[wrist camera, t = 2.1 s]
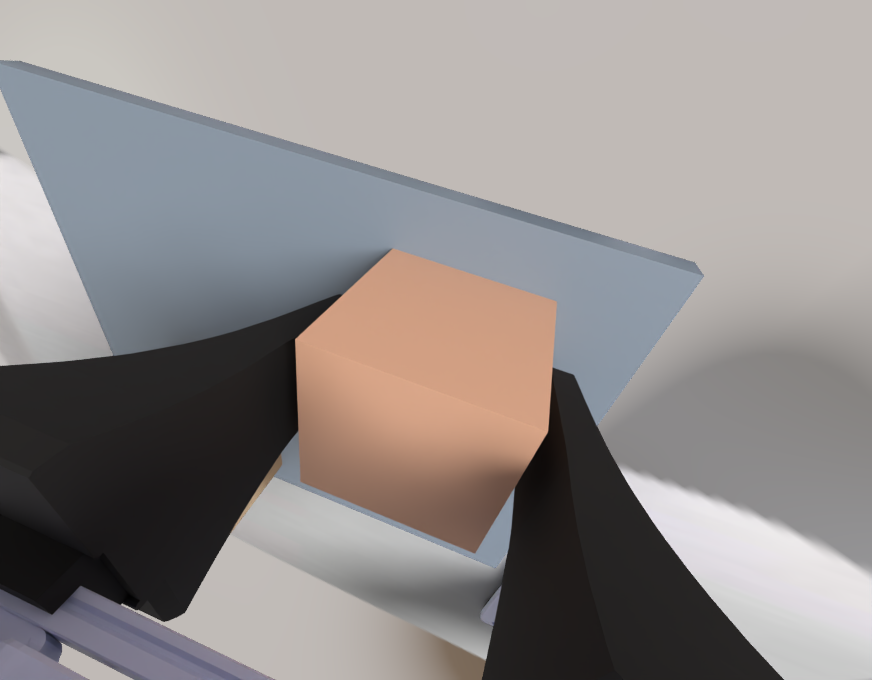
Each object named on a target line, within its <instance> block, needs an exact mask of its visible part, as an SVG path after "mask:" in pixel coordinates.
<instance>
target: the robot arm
mask: <svg viewBox="0 0 872 680" xmlns="http://www.w3.org/2000/svg"><path fill="white" fill-rule="evenodd" d="M341 296H342V295H341V294H338V295H335V296H332V297H329V298H326V299H324V300H321V301H318V302H316V303H313V304H311V305H308V306H305V307H303V308H300V309H298V310H295V311H292V312H290V313H287V314H284V315H282V316H279V317H276V318H273V319H270V320H267V321H264V322H261V323H258V324H255V325H252V326H249V327H246V328H243V329H240V330H237V331H233V332H230V333H226V334H223V335H219V336H215V337H211V338H207V339H203V340H199V341H194V342H190V343H186V344H181V345H175V346H170V347H164V348H159V349H153V350H148V351H142V352H137V353H131V354H124V355H116V356H109V357H101V358H92V359H83V360H75V361H64V362H53V363H38V364H23V365H9V366H0V680H89V679H87V678H85V677H83V676H81V675H79V674H78V673H76V672H74V671H72V670H70V669H68V668H66V667H65V666H63V665H61V664H59V663H58V662H59V658H60V656H61V653H62V644H61V643H64V644H65V645H67V646H69V647H71V648H73V649H75V650H77V651H79V652H81V653H83V654H85V655H87V656H89V657H91V658H93V659H95V660H97V661H99V662H101V663H103V664H105V665H107V666H109V667H111V668H113V669H115V670H116V671H118V672H120V673H122V674H124V675H126V676H128V677H130V678H132V679H134V680H275V679H272V678H270V677H268V676H266V675H264V674H262V673H260V672H258V671H256V670H254V669H251V668H250V667H247V666H246V665H243V664H241V663H239V662H237V661H235V660H233V659H231V658H229V657H227V656H225V655H223V654H220V653H218V652H217V651H215V650H212V649H210V648H208V647H206V646H204V645H202V644H200V643H198V642H196V641H194V640H192V639H190V638H187V637H186V636H183V635H181V634H179V633H177V632H175V631H173V630H171V629H169V628H167V627H165V626H163V625H161V624H159V623H157V622H154V621H153V620H150V619H148V618H146V617H144V616H142V615H140V614H138V613H136V612H134V611H132V610H130V609H128V608H125V607H123V606H121V604H122V603H123V604H125V605H127V606H129V607H131V608H133V609H135V610H140V611H142V612H144V613H146V614H148V615H151V616H153V617H155V618H157V619H159V620H161V621H163V622H165V621H169V620H171V619H174V618H176V617H178V616H180V615H182V614H183V613H185V611H186V610H187V608H188V606H189V604H190V603H191V601H192V599H193V597H194V595H195V594H196V592H197V590H198V588H199V586H200V585H201V582H202V581H203V579H204V578H205V576H206V574H207V572H208V571H209V569H210V567H211V565H212V563H213V562H214V560H215V558H216V556H217V555H218V553H219V551H220V550H221V548H222V546H223V545H224V543H225V541H226V539H227V538H228V536H229V534H230V533H231V531H232V529H233V528H234V526H235V524H236V523H237V521H238V519H239V518H240V516H241V514H242V513H243V511H244V510H245V508H246V507H247V505H248V503H249V502H250V500H251V499H252V497H253V495H254V494H255V492H256V491H257V489H258V488H259V486H260V484H261V483H262V481H263V480H264V478H265V477H266V475H267V474H268V472H269V471H270V469H271V468H272V466H273V465H274V463H275V462H276V460H277V459H278V457H279V456H280V454H281V453H282V451H283V450H284V449H285V447H286V446H287V445H288V443H289V442H290V441H291V439H292V438H293V437H294V436H295V434H296V433H297V432H298V431H299V429H298V402H297V374H296V347H295V339H296V338H297V337H298V336H299V335H300V334H302V333H303V332H304V331H305V330H306V329H307V328H308V327H309V326H310V325H311V324H312V323H313V322H314V321H316V320H317V319H318V318H319V317H320V316H321V315H322V314H323V313H324V312H325V311H326V310H327V309H328V308H329V307H331V306H332V305H333V304H334V303H335V302H336V301H337V300H338V299H339V298H340V297H341ZM480 619H481V620H482V621H483V622H485V623H487V624H489V625H491V626H493V631H492V635H491V640H490V645H489V649H488V654H487V659H486V663H485V668H484V672H483V677H482V680H784V679H783V678H782V677H781V676H780V675H779V674H778V673H777V672H776V671H775V670H774V669H773V667H772V666H771V665H770V664H769V663H768V662H767V661H766V660H765V659H764V658H763V657H762V656H761V655H760V654H759V652H758V651H757V650H756V649H755V648H754V647H753V646H752V645H751V644H750V643H749V642H748V640H747V639H746V638H745V637H744V636H743V635H742V634H741V632H740V631H739V630H738V629H737V628H736V627H735V625H734V624H733V623H732V622H731V621H730V620H729V618H728V617H727V616H726V615H725V614H724V613H723V611H722V610H721V609H720V608H719V607H718V606H717V604H716V603H715V602H714V601H713V600H712V599H711V597H710V596H709V595H708V594H707V592H706V591H705V590H704V589H703V588H702V586H701V585H700V584H699V583H698V581H697V580H696V579H695V578H694V576H693V575H692V574H691V573H690V571H689V570H688V569H687V568H686V566H685V565H684V564H683V562H682V561H681V560H680V558H679V557H678V556H677V554H676V553H675V552H674V550H673V549H672V548H671V546H670V545H669V544H668V542H667V541H666V540H665V538H664V537H663V536H662V534H661V533H660V531H659V530H658V529H657V527H656V526H655V524H654V523H653V522H652V520H651V519H650V517H649V516H648V514H647V513H646V511H645V510H644V508H643V506H642V505H641V503H640V502H639V500H638V499H637V497H636V496H635V494H634V493H633V491H632V490H631V488H630V486H629V485H628V483H627V481H626V480H625V478H624V476H623V475H622V473H621V471H620V469H619V467H618V466H617V464H616V462H615V461H614V459H613V457H612V455H611V453H610V452H609V450H608V447H607V446H606V444H605V442H604V439H603V437H602V435H601V433H600V431H599V429H598V427H597V425H596V423H595V421H594V419H593V417H592V414H591V412H590V410H589V408H588V405H587V403H586V401H585V399H584V396H583V394H582V392H581V389H580V387H579V385H578V382H577V380H576V378H575V376H574V375H573V374H570V373H568V372H565V371H562V370H559V369H556V368H552V382H551V397H550V412H549V426H548V433H547V434H546V436H545V438H544V439H543V441H542V443H541V444H540V446H539V448H538V449H537V451H536V453H535V454H534V456H533V458H532V459H531V461H530V463H529V464H528V466H527V468H526V470H525V471H524V473H523V475H522V476H521V478H520V480H519V481H518V483H517V485H516V486H515V490H514V502H513V514H512V526H511V534H510V542H509V549H508V554H507V559H506V565H505V570H504V575H503V581H502V585H501V586H500V587H499V589H498V590H497V591H496V592H495V594H494V595H493V596H492V598H491V599H490V600H489V601H488V603H487V604H486V605H485V606H484V608H483V609H482V610H481V615H480ZM60 642H61V643H60Z"/></svg>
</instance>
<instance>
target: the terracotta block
mask: <svg viewBox="0 0 872 680" xmlns="http://www.w3.org/2000/svg"><path fill="white" fill-rule="evenodd" d="M556 309H557V301H554V300H551V299H548V298H545V297H542V296H539V295H535V294H532V293H529V292H526V291H523V290H520V289H517V288H514V287H511V286H508V285H505V284H501V283H498V282H495V281H492V280H489V279H486V278H483V277H480V276H477V275H474V274H471V273H467V272H464V271H461V270H458V269H455V268H452V267H449V266H446V265H443V264H440V263H437V262H433V261H430V260H427V259H424V258H421V257H418V256H415V255H412V254H409V253H406V252H403V251H399V250H396V249H392V250H391V251H390V252H389V253H387V254H386V255H385V256H384V257H383V258H382V259H381V260H380V261H379V262H378V263H377V264H376V265H375V266H373V267H372V268H371V269H370V270H369V271H368V272H367V273H366V274H365V275H364V276H363V277H362V278H361V279H360V280H358V281H357V282H356V283H355V284H354V285H353V286H352V287H351V288H350V289H349V290H348V291H347V292H346V293H344V294H343V295H342V296H341V297H340V298H339V299H338V300H337V301H336V302H335V303H334V304H333V305H332V306H331V307H329V308H328V309H327V310H326V311H325V312H324V313H323V314H322V315H321V316H320V317H319V318H318V319H317V320H316V321H314V322H313V323H312V324H311V325H310V326H309V327H308V328H307V329H306V330H305V331H304V332H303V333H302V334H300V335H299V336H298V337H297V338H296V339H295V347H296V374H297V402H298V429H299V457H300V482H302V483H304V484H307V485H309V486H312V487H314V488H317V489H319V490H321V491H324V492H326V493H329V494H331V495H333V496H336V497H338V498H341V499H343V500H346V501H348V502H350V503H353V504H355V505H358V506H360V507H363V508H365V509H367V510H370V511H372V512H375V513H377V514H380V515H382V516H384V517H387V518H389V519H392V520H394V521H396V522H399V523H401V524H404V525H406V526H409V527H411V528H413V529H416V530H418V531H421V532H423V533H426V534H428V535H430V536H433V537H435V538H438V539H440V540H443V541H445V542H447V543H450V544H452V545H455V546H457V547H460V548H462V549H464V550H467V551H469V552H472V553H474V554H475V553H476V551H477V550H478V548H479V546H480V545H481V543H482V541H483V540H484V538H485V536H486V535H487V533H488V531H489V530H490V528H491V526H492V525H493V523H494V521H495V520H496V518H497V516H498V515H499V513H500V511H501V510H502V508H503V506H504V505H505V503H506V501H507V500H508V498H509V496H510V495H511V493H512V491H513V490H514V488H515V486H516V485H517V483H518V481H519V480H520V478H521V476H522V475H523V473H524V471H525V470H526V468H527V466H528V464H529V463H530V461H531V459H532V458H533V456H534V454H535V453H536V451H537V449H538V448H539V446H540V444H541V443H542V441H543V439H544V438H545V436H546V434H547V433H548V426H549V412H550V397H551V382H552V368H553V353H554V338H555V324H556Z"/></svg>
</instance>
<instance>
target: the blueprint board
mask: <svg viewBox="0 0 872 680" xmlns="http://www.w3.org/2000/svg"><path fill="white" fill-rule="evenodd" d="M0 89H1V92H2V94H3V96H4V99H5V101H6V103H7V106H8V108H9V111H10V113H11V115H12V118H13V120H14V122H15V125H16V127H17V129H18V132H19V134H20V137H21V139H22V141H23V144H24V146H25V148H26V151H27V153H28V155H29V158H30V160H31V162H32V165H33V167H34V169H35V172H36V174H37V177H38V179H39V181H40V184H41V186H42V188H43V191H44V193H45V195H46V198H47V200H48V202H49V205H50V207H51V210H52V212H53V214H54V217H55V219H56V221H57V224H58V226H59V228H60V231H61V233H62V235H63V238H64V240H65V242H66V245H67V247H68V250H69V252H70V254H71V257H72V259H73V261H74V264H75V266H76V268H77V271H78V273H79V275H80V278H81V280H82V282H83V285H84V287H85V290H86V292H87V294H88V297H89V299H90V301H91V304H92V306H93V308H94V311H95V313H96V315H97V318H98V320H99V322H100V325H101V327H102V330H103V332H104V334H105V337H106V339H107V341H108V344H109V346H110V348H111V351H112V353H113V355H114V356H116V355H124V354H131V353H137V352H142V351H148V350H153V349H159V348H164V347H170V346H175V345H181V344H186V343H190V342H194V341H199V340H203V339H207V338H211V337H215V336H219V335H223V334H226V333H230V332H233V331H237V330H240V329H243V328H246V327H249V326H252V325H255V324H258V323H261V322H264V321H267V320H270V319H273V318H276V317H279V316H282V315H284V314H287V313H290V312H292V311H295V310H298V309H300V308H303V307H305V306H308V305H311V304H313V303H316V302H318V301H321V300H324V299H326V298H329V297H332V296H335V295H338V294H341V295H343V294H344V293H346V292H347V291H348V290H349V289H350V288H351V287H352V286H353V285H354V284H355V283H356V282H357V281H358V280H360V279H361V278H362V277H363V276H364V275H365V274H366V273H367V272H368V271H369V270H370V269H371V268H372V267H373V266H375V265H376V264H377V263H378V262H379V261H380V260H381V259H382V258H383V257H384V256H385V255H386V254H387V253H389V252H390V251H391V250H392V249H396V250H399V251H403V252H406V253H409V254H412V255H415V256H418V257H421V258H424V259H427V260H430V261H433V262H437V263H440V264H443V265H446V266H449V267H452V268H455V269H458V270H461V271H464V272H467V273H471V274H474V275H477V276H480V277H483V278H486V279H489V280H492V281H495V282H498V283H501V284H505V285H508V286H511V287H514V288H517V289H520V290H523V291H526V292H529V293H532V294H535V295H539V296H542V297H545V298H548V299H551V300H554V301H557V309H556V324H555V338H554V353H553V368H556V369H559V370H562V371H565V372H568V373H570V374H573V375H574V376H575V378H576V380H577V382H578V385H579V387H580V389H581V392H582V394H583V396H584V399H585V401H586V403H587V405H588V408H589V410H590V412H591V414H592V417H593V419H594V421H595V423H596V425H597V426H598V424H599V423H600V421H601V420H602V418H603V417H604V416H605V414H606V413H607V412H608V410H609V409H610V407H611V406H612V405H613V403H614V401H615V400H616V399H617V398H618V396H619V395H620V393H621V392H622V390H623V389H624V388H625V386H626V385H627V383H628V382H629V381H630V379H631V378H632V376H633V375H634V374H635V372H636V371H637V369H638V368H639V367H640V365H641V364H642V362H643V361H644V360H645V358H646V357H647V355H648V354H649V353H650V351H651V350H652V348H653V347H654V345H655V344H656V343H657V341H658V340H659V339H660V337H661V335H662V334H663V333H664V332H665V330H666V329H667V327H668V326H669V325H670V323H671V322H672V320H673V319H674V317H675V316H676V315H677V313H678V312H679V310H680V309H681V308H682V306H683V305H684V304H685V302H686V301H687V299H688V298H689V297H690V295H691V294H692V292H693V291H694V289H695V288H696V287H697V285H698V284H699V282H700V281H701V280H702V278H703V277H704V275H703V274H702V272H701V271H700V269H699V268H698V266H697V265H696V263H695V262H691V261H688V260H685V259H681V258H678V257H675V256H671V255H668V254H665V253H661V252H658V251H654V250H651V249H647V248H644V247H641V246H638V245H635V244H631V243H628V242H624V241H621V240H617V239H614V238H611V237H608V236H604V235H601V234H597V233H594V232H591V231H588V230H584V229H581V228H577V227H574V226H571V225H568V224H564V223H561V222H557V221H554V220H551V219H547V218H544V217H541V216H537V215H534V214H531V213H527V212H524V211H521V210H517V209H514V208H511V207H507V206H504V205H500V204H497V203H494V202H491V201H487V200H484V199H480V198H477V197H474V196H470V195H467V194H464V193H460V192H457V191H454V190H450V189H447V188H444V187H440V186H437V185H434V184H430V183H427V182H424V181H420V180H417V179H413V178H410V177H407V176H403V175H400V174H397V173H393V172H390V171H387V170H383V169H380V168H377V167H373V166H370V165H367V164H363V163H360V162H357V161H353V160H350V159H347V158H343V157H340V156H336V155H333V154H330V153H326V152H323V151H320V150H316V149H313V148H310V147H306V146H303V145H299V144H296V143H293V142H290V141H286V140H283V139H279V138H276V137H273V136H269V135H266V134H263V133H259V132H256V131H253V130H249V129H246V128H243V127H239V126H236V125H233V124H229V123H226V122H222V121H219V120H215V119H212V118H209V117H206V116H203V115H199V114H196V113H192V112H189V111H186V110H182V109H179V108H176V107H172V106H169V105H166V104H162V103H159V102H156V101H152V100H149V99H145V98H142V97H139V96H136V95H132V94H129V93H126V92H122V91H119V90H116V89H112V88H109V87H105V86H102V85H99V84H95V83H92V82H89V81H85V80H82V79H78V78H75V77H72V76H68V75H65V74H62V73H58V72H55V71H52V70H48V69H45V68H42V67H38V66H35V65H32V64H28V63H25V62H22V61H4V60H0ZM281 456H282V466H281V467H280V469H279V470H278V471H277V473H276V474H275V475H274V477H276V478H279V479H281V480H284V481H286V482H288V483H291V484H293V485H296V486H298V487H300V488H303V489H305V490H308V491H310V492H312V493H315V494H317V495H320V496H322V497H325V498H327V499H329V500H332V501H334V502H337V503H339V504H341V505H344V506H346V507H349V508H351V509H353V510H356V511H358V512H361V513H363V514H366V515H368V516H370V517H373V518H375V519H378V520H380V521H382V522H385V523H387V524H390V525H392V526H394V527H397V528H399V529H402V530H404V531H407V532H409V533H411V534H414V535H416V536H419V537H421V538H423V539H426V540H428V541H431V542H433V543H435V544H438V545H440V546H443V547H445V548H448V549H450V550H452V551H455V552H457V553H460V554H462V555H464V556H467V557H469V558H472V559H474V560H476V561H479V562H481V563H484V564H486V565H489V566H491V567H493V568H496V567H497V566H498V564H499V563H500V562H501V560H502V559H503V557H504V556H505V555H506V553H507V552H508V549H509V542H510V534H511V526H512V514H513V502H514V490H515V488H514V490H513V491H512V493H511V495H510V496H509V498H508V500H507V501H506V503H505V505H504V506H503V508H502V510H501V511H500V513H499V515H498V516H497V518H496V520H495V521H494V523H493V525H492V526H491V528H490V530H489V531H488V533H487V535H486V536H485V538H484V540H483V541H482V543H481V545H480V546H479V548H478V550H477V551H476V553H475V554H474V553H472V552H469V551H467V550H464V549H462V548H460V547H457V546H455V545H452V544H450V543H447V542H445V541H443V540H440V539H438V538H435V537H433V536H430V535H428V534H426V533H423V532H421V531H418V530H416V529H413V528H411V527H409V526H406V525H404V524H401V523H399V522H396V521H394V520H392V519H389V518H387V517H384V516H382V515H380V514H377V513H375V512H372V511H370V510H367V509H365V508H363V507H360V506H358V505H355V504H353V503H350V502H348V501H346V500H343V499H341V498H338V497H336V496H333V495H331V494H329V493H326V492H324V491H321V490H319V489H317V488H314V487H312V486H309V485H307V484H304V483H302V482H300V457H299V431H298V432H297V433H296V434H295V436H294V437H293V438H292V439H291V441H290V442H289V443H288V445H287V446H286V447H285V449H284V450H283V451H282V453H281Z"/></svg>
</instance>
